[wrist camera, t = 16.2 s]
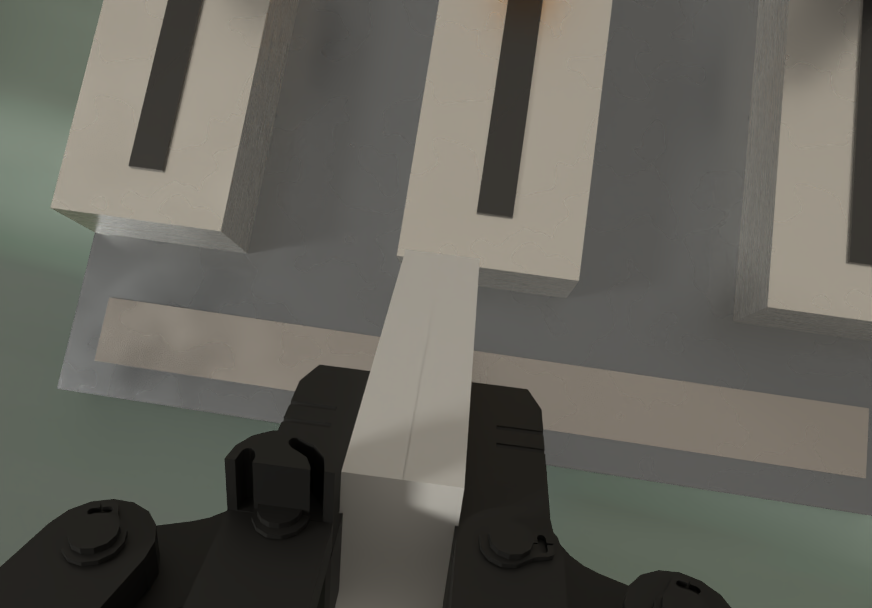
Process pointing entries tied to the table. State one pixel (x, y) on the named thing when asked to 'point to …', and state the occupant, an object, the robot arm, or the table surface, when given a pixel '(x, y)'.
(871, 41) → the breaker panel
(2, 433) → the table surface
